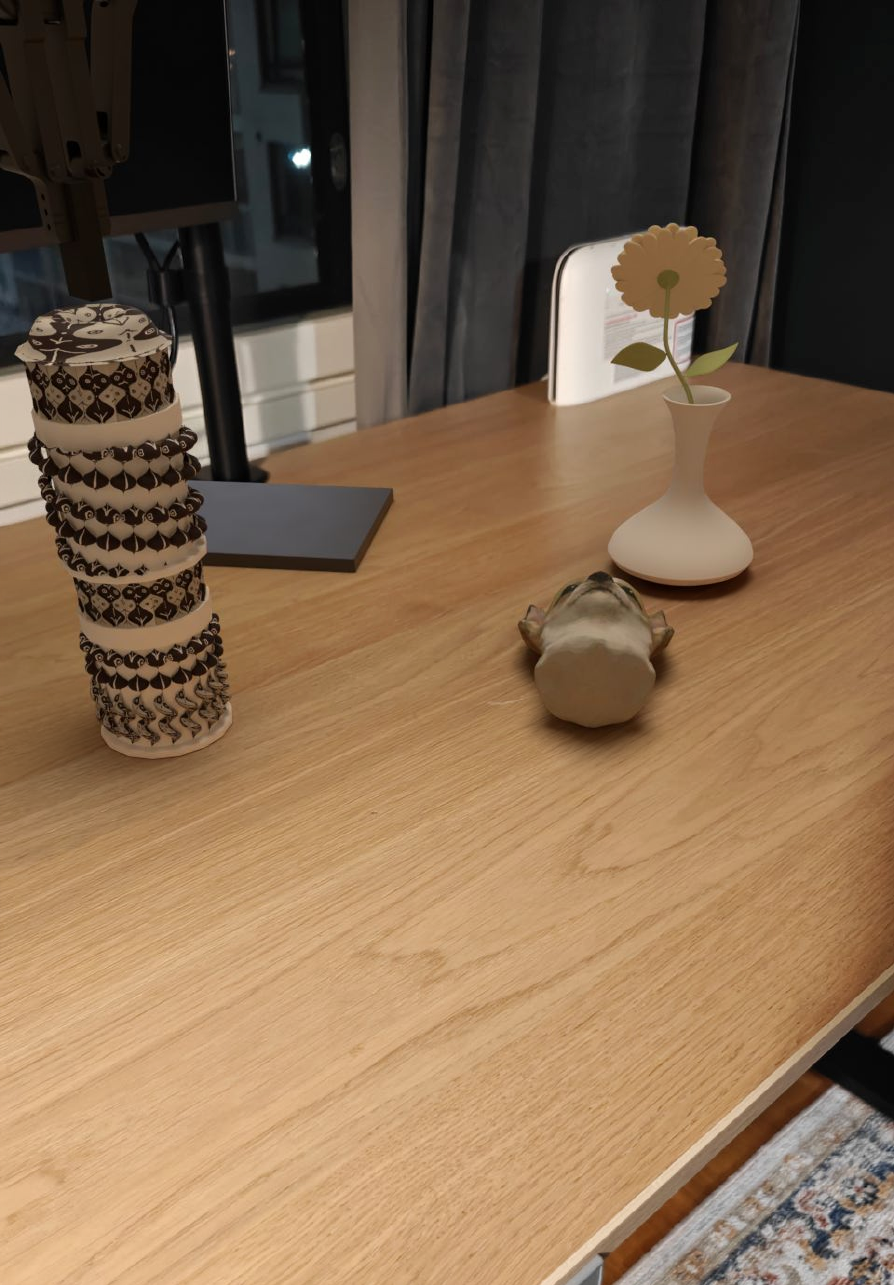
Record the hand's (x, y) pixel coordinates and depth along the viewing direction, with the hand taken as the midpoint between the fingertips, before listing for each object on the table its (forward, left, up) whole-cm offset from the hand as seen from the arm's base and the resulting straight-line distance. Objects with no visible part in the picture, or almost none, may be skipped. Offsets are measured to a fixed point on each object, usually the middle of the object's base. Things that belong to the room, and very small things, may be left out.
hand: (90, 296), depth 71 cm
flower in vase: (+38, +15, -23) cm, 47 cm away
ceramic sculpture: (+33, -5, -23) cm, 41 cm away
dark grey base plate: (+2, +19, -23) cm, 30 cm away
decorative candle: (+6, -13, -23) cm, 27 cm away
